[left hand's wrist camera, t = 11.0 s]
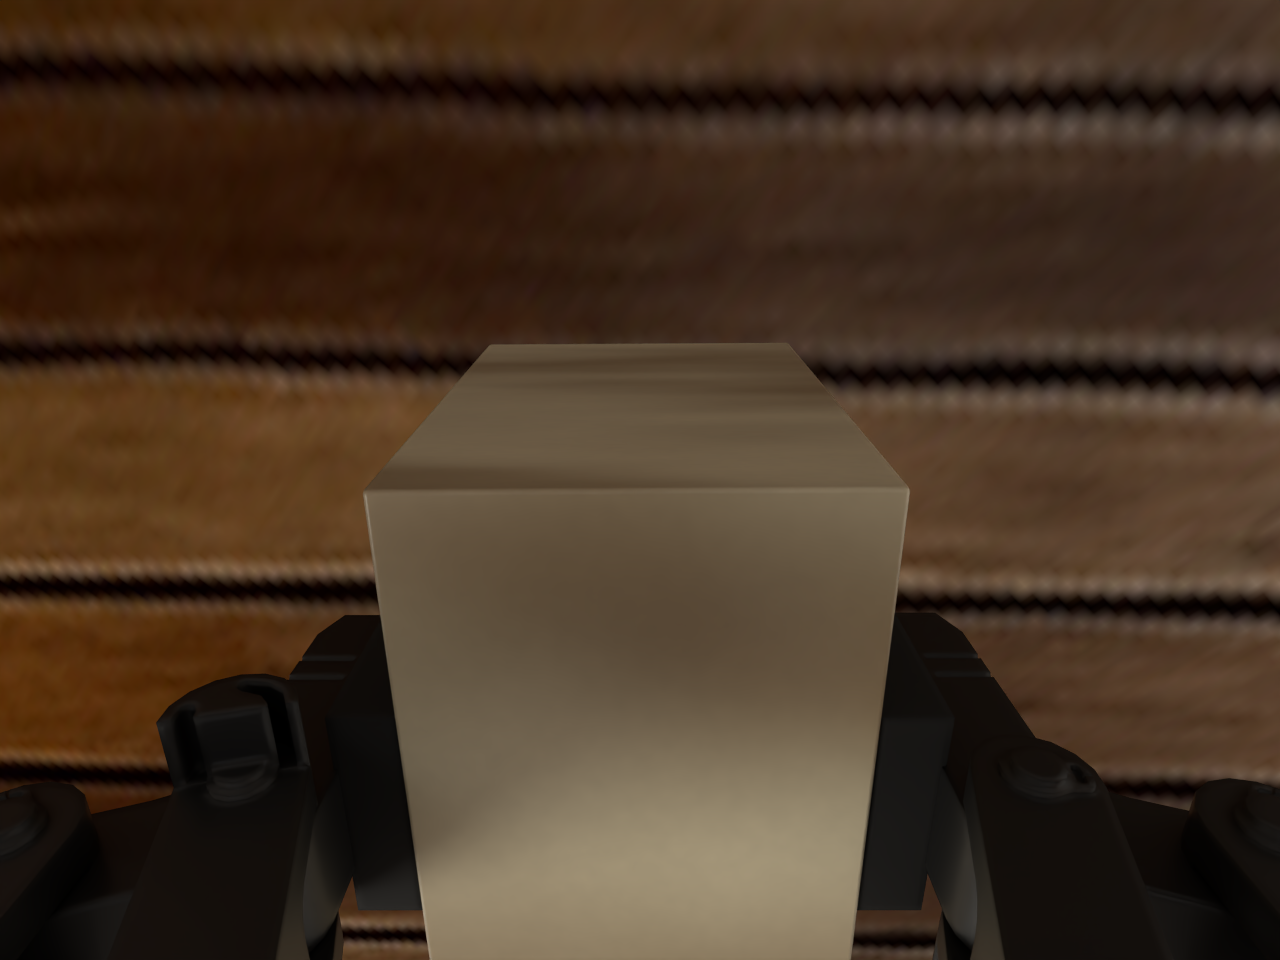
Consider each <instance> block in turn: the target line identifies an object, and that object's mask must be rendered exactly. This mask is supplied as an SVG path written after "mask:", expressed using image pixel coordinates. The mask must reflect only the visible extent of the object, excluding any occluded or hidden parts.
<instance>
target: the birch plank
mask: <svg viewBox="0 0 1280 960" xmlns="http://www.w3.org/2000/svg"><path fill="white" fill-rule="evenodd" d="M909 495H910V490H909V487H908V486H907V485H906V483H905V482H904V481H903V480H902V479H901V478H900V476H899V475H898V474H897V473H896V472H895V470H894V469H893V468H892V467H891V466H890V464H889V463H888V462H887V461H886V460H885V458H884V457H883V456H882V455H881V454H880V453H879V451H878V450H877V449H876V448H875V447H874V445H873V444H872V443H871V442H870V441H869V439H868V438H867V437H866V436H865V435H864V433H863V432H862V431H861V430H860V429H859V427H858V426H857V425H856V424H855V423H854V422H853V420H852V419H851V418H850V417H849V416H848V414H847V413H846V412H845V411H844V410H843V408H842V407H841V406H840V405H839V404H838V402H837V401H836V400H835V399H834V398H833V397H832V395H831V394H830V393H829V392H828V391H827V389H826V388H825V387H824V386H823V385H822V383H821V382H820V381H819V380H818V379H817V377H816V376H815V375H814V374H813V373H812V371H811V370H810V369H809V368H808V367H807V366H806V364H805V363H804V362H803V361H802V360H801V358H800V357H799V356H798V355H797V354H796V352H795V351H794V350H793V349H792V348H791V346H790V345H789V344H787V343H694V344H521V345H490V346H488V348H487V349H486V350H485V351H484V352H483V353H482V355H481V356H480V357H479V358H478V359H477V360H476V361H475V363H474V364H473V365H472V366H471V367H470V368H469V370H468V371H467V372H466V373H465V374H464V375H463V376H462V378H461V379H460V380H459V381H458V382H457V383H456V385H455V386H454V387H453V388H452V389H451V390H450V391H449V393H448V394H447V395H446V396H445V397H444V398H443V400H442V401H441V402H440V403H439V404H438V405H437V407H436V408H435V409H434V410H433V411H432V412H431V413H430V415H429V416H428V417H427V418H426V419H425V420H424V422H423V423H422V424H421V425H420V426H419V427H418V428H417V430H416V431H415V432H414V433H413V434H412V435H411V437H410V438H409V439H408V440H407V441H406V442H405V443H404V445H403V446H402V447H401V448H400V449H399V450H398V452H397V453H396V454H395V455H394V456H393V457H392V458H391V460H390V461H389V462H388V463H387V464H386V465H385V467H384V468H383V469H382V470H381V471H380V472H379V473H378V475H377V476H376V477H375V478H374V479H373V480H372V482H371V483H370V484H369V485H368V486H367V487H366V488H365V490H364V492H363V498H364V505H365V512H366V519H367V525H368V532H369V539H370V546H371V553H372V560H373V567H374V574H375V581H376V588H377V595H378V602H379V609H380V616H381V623H382V630H383V637H384V644H385V651H386V658H387V665H388V672H389V679H390V685H391V692H392V699H393V706H394V713H395V720H396V727H397V734H398V741H399V748H400V755H401V762H402V769H403V776H404V783H405V790H406V797H407V804H408V811H409V818H410V825H411V832H412V839H413V845H414V852H415V859H416V866H417V873H418V880H419V887H420V894H421V901H422V908H423V915H424V922H425V929H426V936H427V943H428V950H429V957H430V960H851V953H852V945H853V937H854V930H855V922H856V914H857V906H858V898H859V890H860V882H861V874H862V866H863V858H864V850H865V843H866V835H867V827H868V819H869V811H870V803H871V795H872V787H873V779H874V771H875V764H876V756H877V748H878V740H879V732H880V724H881V716H882V708H883V700H884V692H885V684H886V677H887V669H888V661H889V653H890V645H891V637H892V629H893V621H894V613H895V605H896V598H897V590H898V582H899V574H900V566H901V558H902V550H903V542H904V534H905V526H906V518H907V511H908V503H909Z"/></svg>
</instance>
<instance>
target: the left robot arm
mask: <svg viewBox="0 0 1280 960" xmlns="http://www.w3.org/2000/svg"><path fill="white" fill-rule="evenodd" d="M977 655H978V654H977V653H976V651H975V650H974V648H973V647H972V645H971V644H970V642H969V641H968V640H967V638H966V637H965V635H964V634H963V632H962V631H960V630H959V629H957V628H956V627H955V626H953V625H952V624H950V623H949V622H947V621H946V620H945V619H943V618H942V617H940V616H939V615H937V614H936V613H894V621H893V629H892V637H891V645H890V653H889V661H888V669H887V677H886V684H885V692H884V700H883V708H882V716H881V724H880V732H879V740H878V748H877V756H876V764H875V771H874V779H873V787H872V795H871V803H870V811H869V819H868V827H867V835H866V843H865V850H864V858H863V866H862V874H861V882H860V890H859V898H858V906H857V910H921V907H922V902H923V896H924V890H925V885H926V879H927V873H928V875H929V878H930V880H931V883H932V885H933V887H934V890H935V892H936V895H937V897H938V900H939V902H940V905H941V907H942V912H941V917H940V922H939V928H938V933H937V938H936V944H935V949H934V954H933V959H932V960H1280V789H1278V788H1274V787H1271V786H1268V785H1265V784H1261V783H1258V782H1253V781H1246V780H1238V779H1231V778H1228V779H1221V780H1214V781H1208V782H1207V783H1205V784H1204V785H1203V786H1202V787H1200V788H1199V789H1198V790H1197V791H1196V792H1195V795H1194V798H1193V801H1192V804H1191V807H1190V811H1187V810H1182V809H1178V808H1173V807H1169V806H1164V805H1160V804H1155V803H1151V802H1146V801H1142V800H1137V799H1133V798H1129V797H1125V796H1122V795H1118V794H1115V793H1111V792H1108V790H1107V788H1106V786H1105V785H1104V783H1103V782H1102V780H1101V779H1100V777H1099V776H1098V774H1097V773H1096V771H1095V770H1094V769H1093V768H1092V767H1091V766H1089V765H1088V764H1087V763H1086V762H1084V761H1083V760H1082V759H1081V758H1079V757H1078V756H1077V755H1076V754H1074V753H1072V752H1070V751H1068V750H1066V749H1064V748H1062V747H1060V746H1058V745H1056V744H1054V743H1052V742H1049V741H1045V740H1041V739H1037V738H1035V736H1034V735H1033V733H1032V732H1031V730H1030V729H1029V728H1028V726H1027V725H1026V723H1025V722H1024V720H1023V719H1022V717H1021V716H1020V715H1019V713H1018V712H1017V710H1016V709H1015V707H1014V706H1013V704H1012V703H1011V702H1010V700H1009V699H1008V697H1007V696H1006V694H1005V693H1004V691H1003V690H1002V689H1001V687H1000V686H999V684H998V683H997V681H996V680H995V678H994V677H991V676H990V671H989V670H988V668H987V667H986V665H985V664H984V663H983V661H982V660H981V658H978V656H977ZM302 658H303V659H302V661H299V662H298V664H297V665H296V667H295V668H294V670H293V671H292V673H291V674H290V679H289V680H286V679H285V678H281V677H277V676H273V675H269V674H244V675H237V676H233V677H229V678H225V679H220V680H216V681H213V682H211V683H209V684H206V685H204V686H202V687H199V688H197V689H195V690H193V691H190V692H189V693H187V694H186V695H184V696H183V697H181V698H180V699H179V700H177V701H176V702H174V703H173V704H172V705H170V706H169V707H168V708H167V709H166V711H165V712H164V713H163V715H162V716H161V717H160V718H159V720H158V721H157V722H156V724H157V727H158V731H159V735H160V738H161V742H162V746H163V749H164V753H165V757H166V760H167V764H168V768H169V771H170V775H171V779H172V782H173V786H174V789H173V792H172V794H171V795H170V796H166V797H163V798H159V799H156V800H152V801H149V802H144V803H140V804H135V805H131V806H126V807H122V808H117V809H113V810H108V811H104V812H99V813H95V814H91V813H90V809H89V806H88V803H87V800H86V797H85V795H84V794H83V793H82V792H81V791H80V790H78V789H77V788H76V787H75V786H73V785H70V784H63V783H57V782H45V783H38V784H31V785H23V786H20V787H17V788H14V789H10V790H8V791H4V792H2V793H0V960H342V954H343V943H344V942H343V935H342V928H341V922H340V917H339V912H338V910H339V908H340V905H341V903H342V900H343V898H344V895H345V893H346V890H347V888H348V885H349V883H350V880H351V878H352V876H353V882H354V888H355V893H356V899H357V905H358V910H423V908H422V901H421V894H420V887H419V880H418V873H417V866H416V859H415V852H414V845H413V839H412V832H411V825H410V818H409V811H408V804H407V797H406V790H405V783H404V776H403V769H402V762H401V755H400V748H399V741H398V734H397V727H396V720H395V713H394V706H393V699H392V692H391V685H390V679H389V672H388V665H387V658H386V651H385V644H384V637H383V630H382V623H381V616H380V615H345V616H343V617H342V618H340V619H339V620H338V621H336V622H335V623H333V624H332V625H330V626H329V627H328V628H326V629H325V630H323V631H322V632H321V633H319V634H318V635H317V636H316V638H315V639H314V641H313V642H312V644H311V645H310V646H309V648H308V649H307V651H306V652H305V654H304V655H303V657H302Z"/></svg>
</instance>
